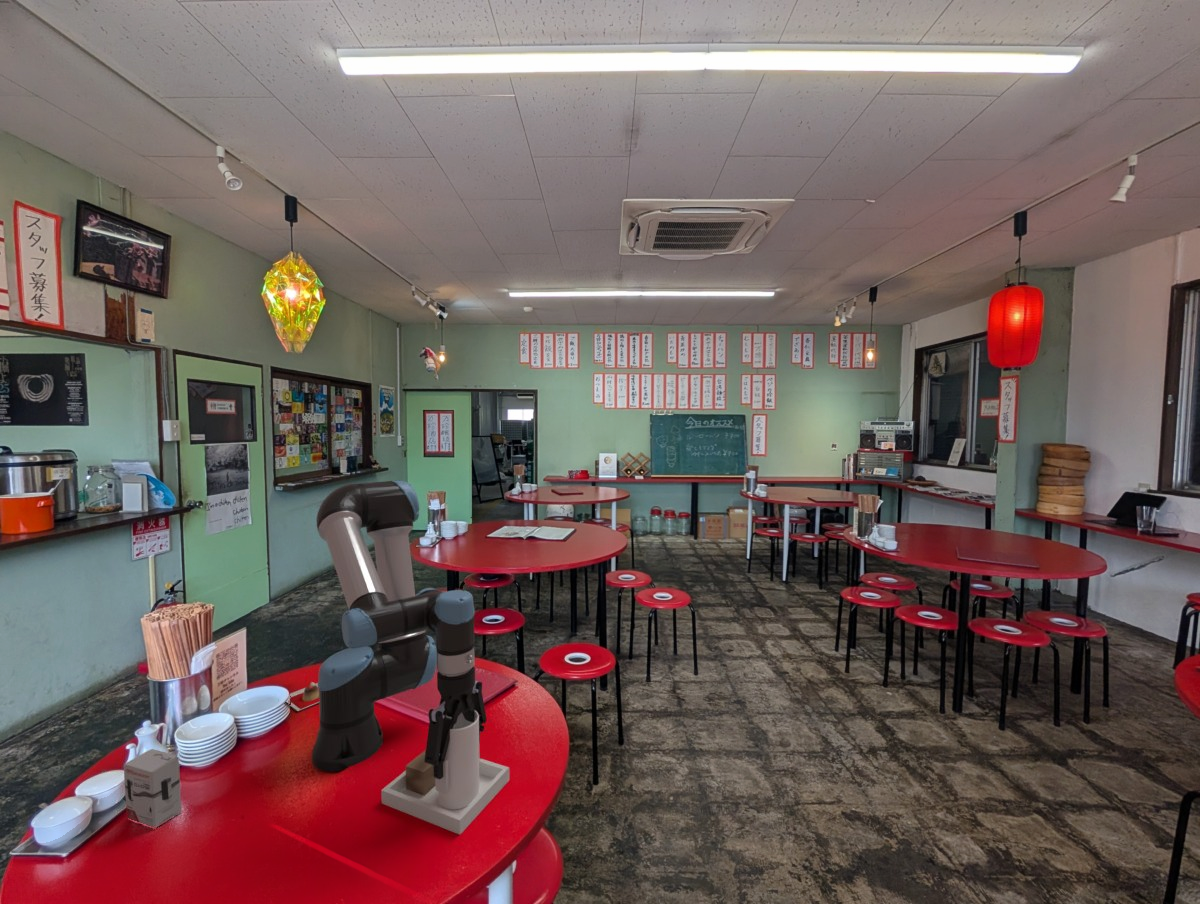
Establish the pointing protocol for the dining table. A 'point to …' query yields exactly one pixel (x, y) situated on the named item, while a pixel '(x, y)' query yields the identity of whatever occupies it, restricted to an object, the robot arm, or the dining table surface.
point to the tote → (430, 808)
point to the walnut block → (420, 775)
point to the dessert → (307, 695)
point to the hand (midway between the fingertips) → (458, 775)
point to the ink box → (152, 787)
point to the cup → (462, 764)
